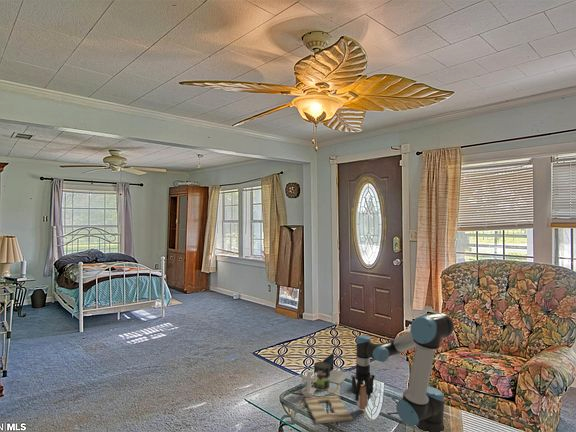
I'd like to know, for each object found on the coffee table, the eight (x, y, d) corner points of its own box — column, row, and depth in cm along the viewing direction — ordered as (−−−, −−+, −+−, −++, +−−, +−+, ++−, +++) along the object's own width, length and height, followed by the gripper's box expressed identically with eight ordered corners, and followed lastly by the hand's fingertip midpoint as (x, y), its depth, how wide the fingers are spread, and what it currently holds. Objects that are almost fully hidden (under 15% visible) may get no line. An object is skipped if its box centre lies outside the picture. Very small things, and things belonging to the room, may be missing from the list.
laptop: (339, 385, 243) (340, 364, 243) (322, 380, 249) (322, 360, 249) (349, 374, 259) (350, 355, 258) (332, 370, 265) (333, 351, 265)
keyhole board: (352, 420, 202) (352, 417, 202) (316, 423, 198) (316, 421, 198) (337, 398, 226) (337, 395, 226) (304, 400, 221) (304, 398, 221)
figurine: (303, 391, 233) (304, 367, 232) (318, 394, 229) (318, 370, 229) (299, 396, 226) (300, 371, 226) (314, 400, 222) (315, 374, 222)
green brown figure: (328, 392, 233) (328, 369, 232) (311, 389, 236) (312, 366, 235) (331, 384, 243) (331, 362, 242) (315, 382, 246) (316, 360, 245)
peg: (367, 409, 211) (367, 387, 211) (360, 409, 210) (360, 388, 210) (364, 405, 215) (364, 384, 215) (357, 406, 214) (357, 384, 214)
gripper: (374, 360, 218) (373, 401, 218) (346, 362, 214) (345, 403, 214) (380, 365, 210) (379, 407, 211) (351, 367, 207) (350, 410, 207)
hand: (362, 405), depth 212 cm, fingers closed on peg, 4 cm apart
